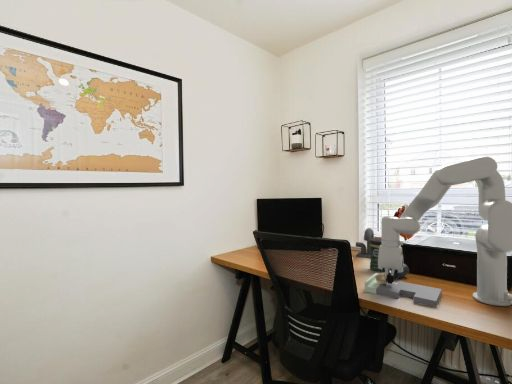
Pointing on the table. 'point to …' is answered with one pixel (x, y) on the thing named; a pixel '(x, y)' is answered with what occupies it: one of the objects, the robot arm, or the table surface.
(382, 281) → the maple block
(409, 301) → the table surface
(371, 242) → the coffee jar
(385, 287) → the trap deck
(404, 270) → the dark grey motor
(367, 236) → the faucet
